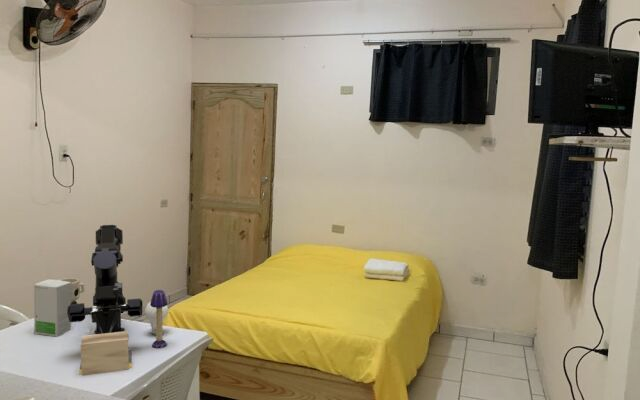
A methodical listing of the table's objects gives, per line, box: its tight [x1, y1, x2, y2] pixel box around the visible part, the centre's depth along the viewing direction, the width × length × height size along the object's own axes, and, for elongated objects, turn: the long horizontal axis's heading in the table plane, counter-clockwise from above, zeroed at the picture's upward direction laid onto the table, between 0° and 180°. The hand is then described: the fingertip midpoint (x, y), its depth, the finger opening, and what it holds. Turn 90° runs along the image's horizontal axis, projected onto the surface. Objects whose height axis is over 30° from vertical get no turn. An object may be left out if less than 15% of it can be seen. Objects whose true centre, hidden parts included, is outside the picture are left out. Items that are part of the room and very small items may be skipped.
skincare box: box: [33, 278, 72, 338], centre depth 154 cm, size 8×7×16 cm
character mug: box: [58, 277, 85, 304], centre depth 165 cm, size 11×7×13 cm, turn 142°
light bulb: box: [144, 301, 169, 336], centre depth 153 cm, size 7×7×11 cm
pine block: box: [80, 330, 130, 376], centre depth 131 cm, size 6×11×8 cm, turn 111°
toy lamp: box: [150, 289, 168, 350], centre depth 144 cm, size 5×5×17 cm
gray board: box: [78, 349, 133, 375], centre depth 134 cm, size 12×13×1 cm
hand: (105, 339), depth 134 cm, fingers closed, pressing on pine block
